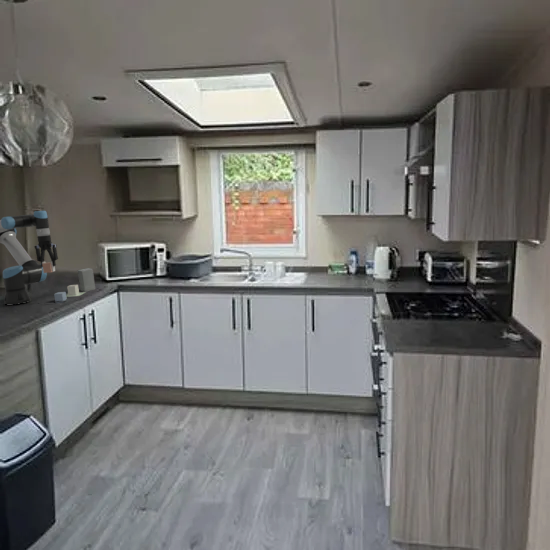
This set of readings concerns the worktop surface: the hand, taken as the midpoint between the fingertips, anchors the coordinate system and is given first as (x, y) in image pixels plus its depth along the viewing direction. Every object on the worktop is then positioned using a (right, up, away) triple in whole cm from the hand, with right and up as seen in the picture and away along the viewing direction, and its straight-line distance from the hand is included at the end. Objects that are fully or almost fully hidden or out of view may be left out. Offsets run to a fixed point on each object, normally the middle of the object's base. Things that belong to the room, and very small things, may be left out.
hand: (49, 271), depth 309 cm
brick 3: (+11, -15, +11) cm, 22 cm away
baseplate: (+11, -16, +12) cm, 23 cm away
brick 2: (+9, -19, -4) cm, 22 cm away
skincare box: (+15, -14, +24) cm, 32 cm away
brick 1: (0, 0, 0) cm, 0 cm away
